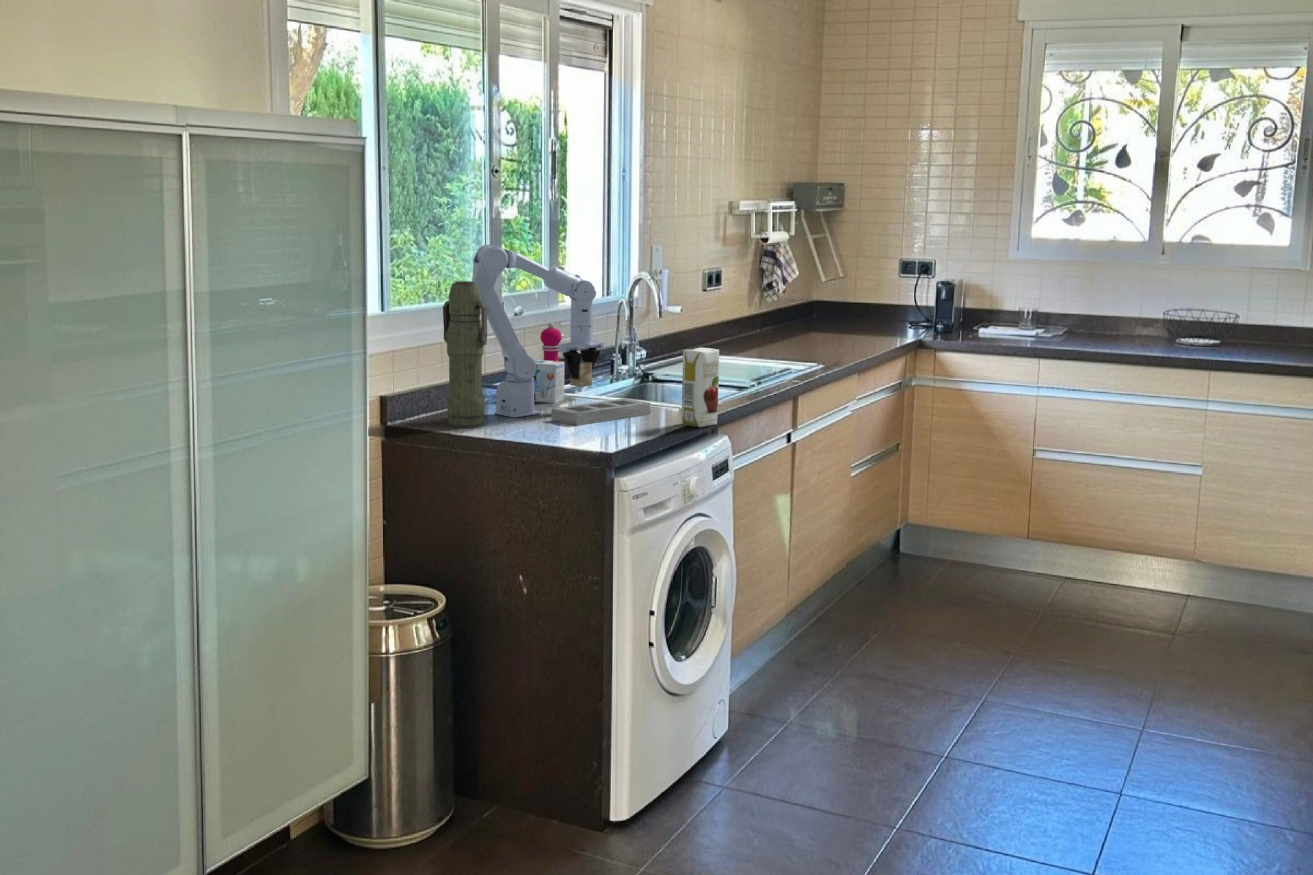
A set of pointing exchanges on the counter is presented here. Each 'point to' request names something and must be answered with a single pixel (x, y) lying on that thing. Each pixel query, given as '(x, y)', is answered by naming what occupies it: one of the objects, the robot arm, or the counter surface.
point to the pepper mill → (550, 342)
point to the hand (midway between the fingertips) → (581, 377)
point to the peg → (583, 375)
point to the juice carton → (700, 387)
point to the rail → (600, 411)
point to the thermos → (465, 353)
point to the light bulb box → (549, 381)
